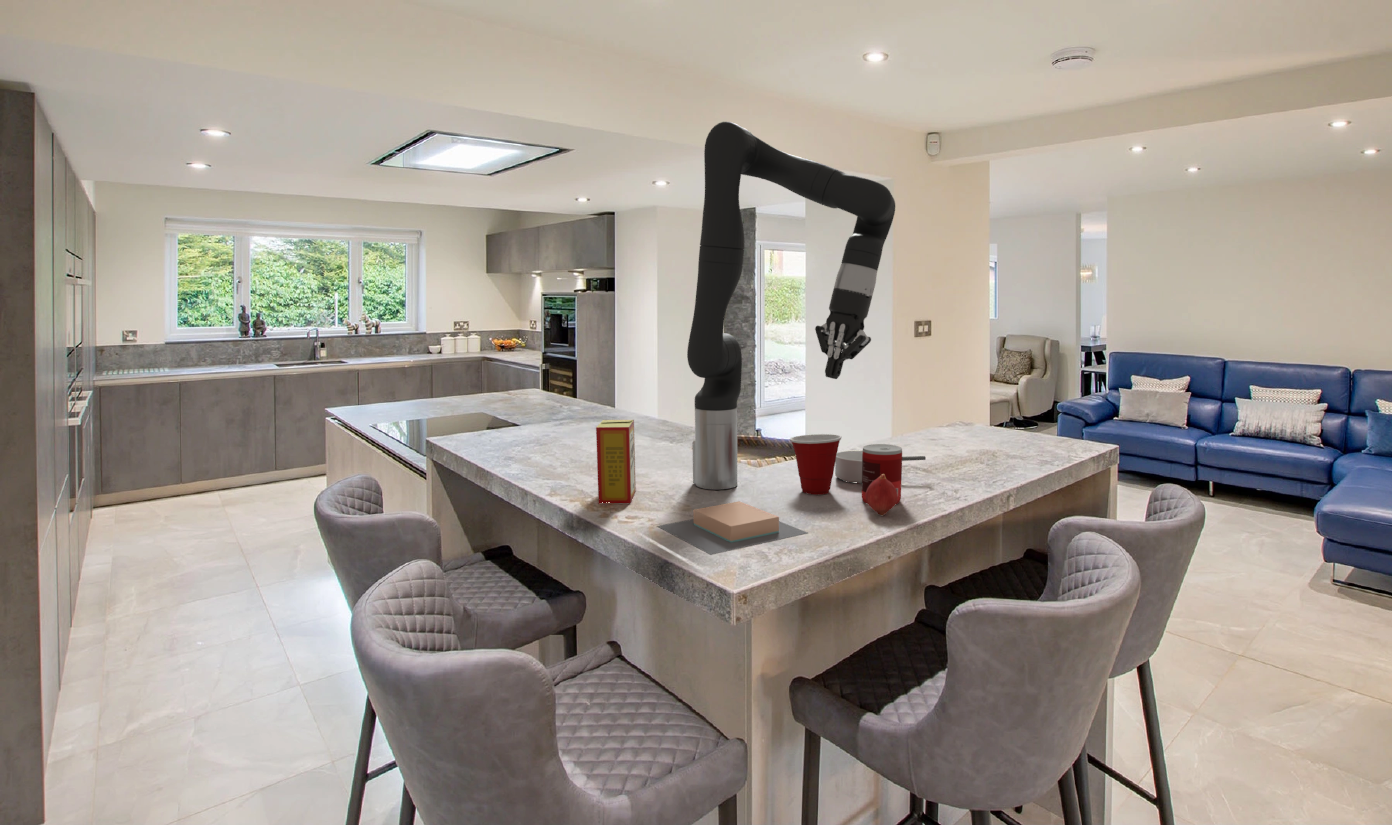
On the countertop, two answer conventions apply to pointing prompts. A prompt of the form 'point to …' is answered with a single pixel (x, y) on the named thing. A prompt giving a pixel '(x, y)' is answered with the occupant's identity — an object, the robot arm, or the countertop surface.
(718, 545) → the mat
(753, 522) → the tile
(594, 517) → the countertop surface
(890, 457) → the canned food
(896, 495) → the onion
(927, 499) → the countertop surface
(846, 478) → the saucepan
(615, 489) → the baking soda box
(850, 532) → the countertop surface
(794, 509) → the countertop surface
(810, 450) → the plastic cup
